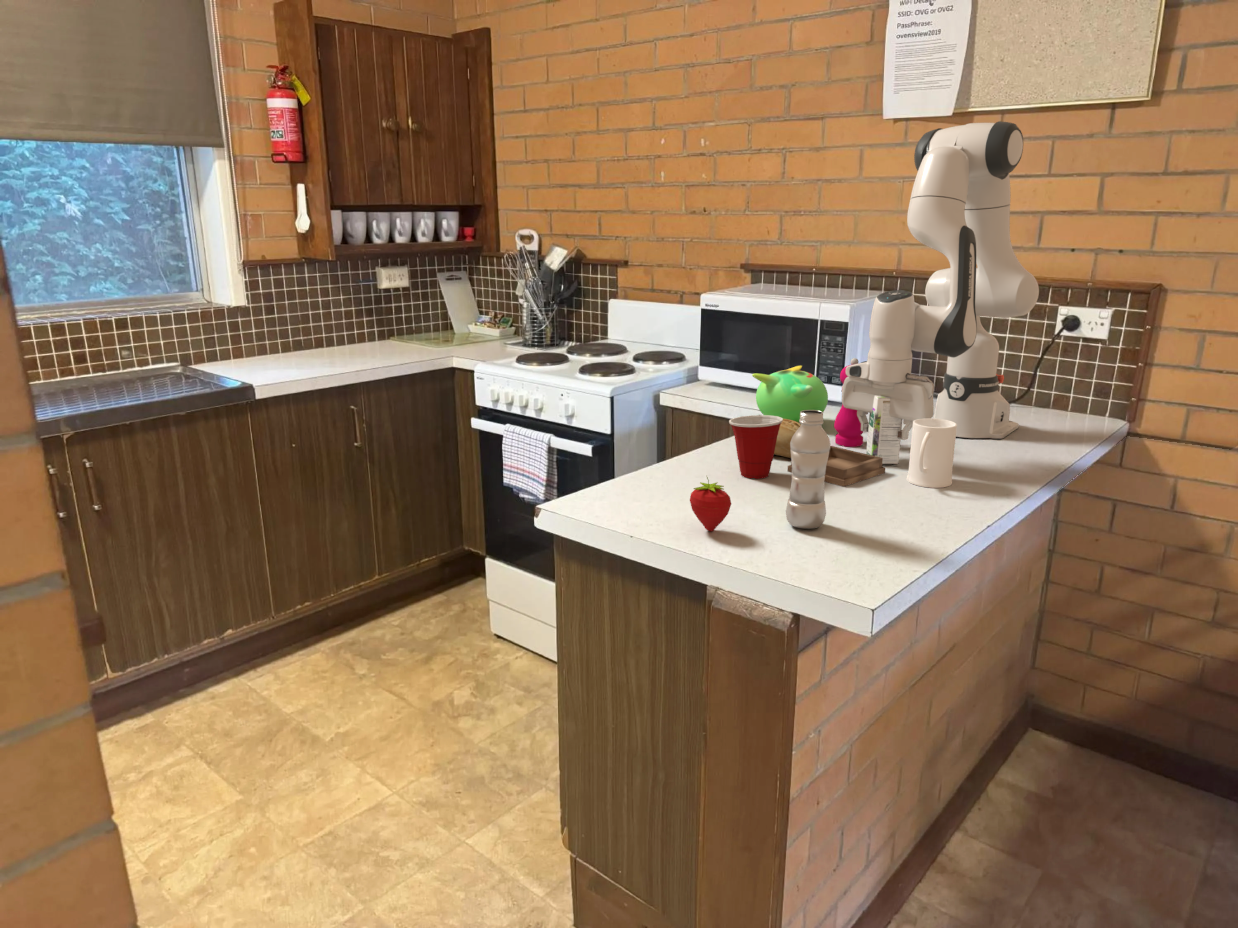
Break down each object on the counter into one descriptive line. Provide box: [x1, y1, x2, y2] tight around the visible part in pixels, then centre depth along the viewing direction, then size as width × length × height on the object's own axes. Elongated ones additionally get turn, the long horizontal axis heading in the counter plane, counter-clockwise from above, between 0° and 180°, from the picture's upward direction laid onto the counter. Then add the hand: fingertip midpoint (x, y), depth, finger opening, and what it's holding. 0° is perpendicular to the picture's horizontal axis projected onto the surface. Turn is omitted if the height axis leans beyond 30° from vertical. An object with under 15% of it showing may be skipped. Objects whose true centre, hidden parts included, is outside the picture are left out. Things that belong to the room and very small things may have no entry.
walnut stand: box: [787, 445, 886, 488], centre depth 172 cm, size 14×14×3 cm
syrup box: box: [865, 395, 903, 465], centre depth 177 cm, size 6×6×14 cm
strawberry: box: [689, 475, 732, 532], centre depth 139 cm, size 6×8×10 cm
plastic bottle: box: [785, 410, 832, 530], centre depth 139 cm, size 6×7×20 cm
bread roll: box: [774, 419, 801, 459], centre depth 185 cm, size 10×15×8 cm, turn 56°
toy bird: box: [751, 365, 829, 424], centre depth 210 cm, size 18×17×15 cm
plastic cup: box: [728, 414, 783, 480], centre depth 169 cm, size 11×11×12 cm
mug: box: [906, 417, 957, 489], centre depth 163 cm, size 12×8×12 cm
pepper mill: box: [833, 357, 865, 448], centre depth 191 cm, size 7×7×20 cm
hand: (883, 435), depth 177 cm, fingers closed on syrup box, 8 cm apart
